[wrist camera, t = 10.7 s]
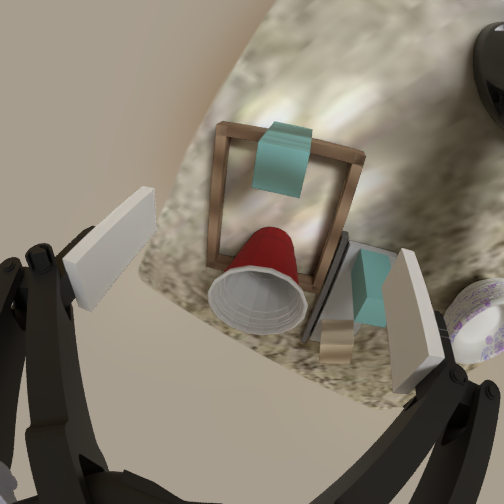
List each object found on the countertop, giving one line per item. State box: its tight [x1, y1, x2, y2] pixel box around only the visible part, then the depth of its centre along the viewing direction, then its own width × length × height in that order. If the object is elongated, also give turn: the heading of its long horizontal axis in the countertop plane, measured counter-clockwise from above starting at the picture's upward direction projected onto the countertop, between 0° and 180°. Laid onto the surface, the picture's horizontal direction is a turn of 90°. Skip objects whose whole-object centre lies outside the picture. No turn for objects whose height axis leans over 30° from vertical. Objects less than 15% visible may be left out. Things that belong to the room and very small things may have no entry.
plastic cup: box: [208, 227, 308, 335], centre depth 36 cm, size 11×11×12 cm
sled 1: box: [206, 121, 366, 294], centre depth 32 cm, size 22×16×11 cm
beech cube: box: [319, 319, 354, 364], centre depth 44 cm, size 5×5×5 cm
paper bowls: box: [443, 277, 504, 364], centre depth 35 cm, size 15×15×8 cm
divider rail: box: [301, 231, 349, 343], centre depth 43 cm, size 22×1×2 cm, turn 173°
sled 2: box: [310, 241, 397, 342], centre depth 39 cm, size 20×7×10 cm, turn 173°
